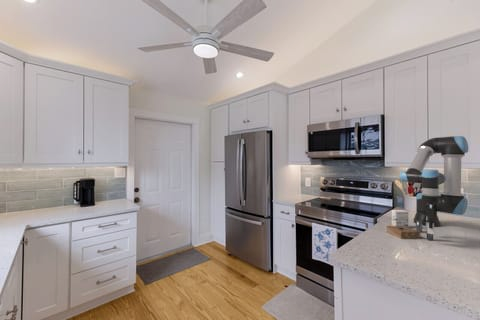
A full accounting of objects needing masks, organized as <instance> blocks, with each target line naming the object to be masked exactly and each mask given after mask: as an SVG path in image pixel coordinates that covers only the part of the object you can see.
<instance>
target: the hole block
mask: <svg viewBox="0 0 480 320" xmlns="http://www.w3.org/2000/svg"><path fill="white" fill-rule="evenodd" d="M386 233H388V234H390V235H392V236H395V237H396V238H399V239H402V240H405V239H406V240H407V239H410V240H416V239H417V240H419V239H418V238H420V239H421V233H420V232H419V231H416V229H414V228H411V227H409V226H408V227H406V226H392V225H386Z"/></svg>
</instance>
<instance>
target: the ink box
mask: <svg viewBox="0 0 480 320" xmlns="http://www.w3.org/2000/svg"><path fill="white" fill-rule="evenodd" d="M391 226H406V227H409V211H407V210H404V209H403V210H401V209H399V210H398V209H391Z"/></svg>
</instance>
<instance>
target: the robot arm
mask: <svg viewBox="0 0 480 320" xmlns="http://www.w3.org/2000/svg"><path fill="white" fill-rule="evenodd" d="M416 152H417V153H416V154H415V156H414V157H413V160H412V162H411V163H410V165H409V166H408V168H407V170H405V171H401V172H400V173H399V179H400V182H402V183H410V184H421V188H420V191H421V192H419V193H417V194H416V198H415V199H416V207H415V208H416V212H415V215H414V218H413V223H415V224H416V221H422V226H425V227H426V234H427V233H429V234H433V235H435V227H441V222H440V219H439V216H438V212H440V213H444V214H452V215H459V216H460V215H462V216H463V215H464V214H465V213H466V212H467V209H468V204H469V201H468V200H469V199H468V198H466V197H465V195H464V194H463V193H462V158H464V157H465V155H466V154H467V153H469V143H468V140H467V138H466V137H465V136H462V135H453V136H440V137H432V138H430V139H427V140H426V141H424V142H422V143H421V144H420V145H419V147H418V148H417V150H416ZM434 154H440V156H441V157H442V158H443V173H442V172H439V170H438V169H427V168H426V169H424V168H425V166H426V165H427V163H428V162H429V159H430V157H432V156H433V155H434ZM442 184H443V191H442V192H441V193H440V192H439V191H440V187H439V186H440V185H442ZM427 216H428V220H427Z"/></svg>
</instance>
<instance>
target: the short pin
mask: <svg viewBox="0 0 480 320" xmlns="http://www.w3.org/2000/svg"><path fill="white" fill-rule="evenodd" d="M415 230H416V231H419V232H420V234H421V233H423V225H422V221H416V223H415Z"/></svg>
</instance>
